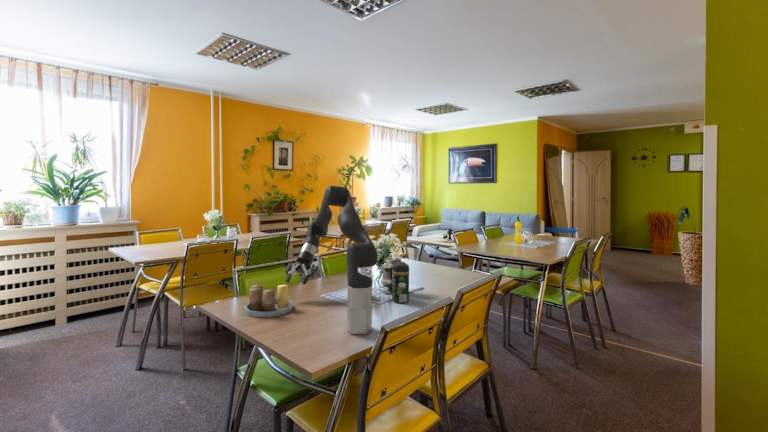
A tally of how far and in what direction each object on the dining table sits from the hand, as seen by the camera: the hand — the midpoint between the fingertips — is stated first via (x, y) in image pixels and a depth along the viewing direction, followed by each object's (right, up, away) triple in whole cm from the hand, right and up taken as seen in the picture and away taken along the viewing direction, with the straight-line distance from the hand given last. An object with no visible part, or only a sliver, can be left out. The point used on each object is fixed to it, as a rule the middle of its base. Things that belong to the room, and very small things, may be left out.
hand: (295, 282), depth 173 cm
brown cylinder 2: (-7, -10, -17) cm, 21 cm away
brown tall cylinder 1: (-15, -9, -10) cm, 20 cm away
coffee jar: (+50, -9, +4) cm, 51 cm away
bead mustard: (-3, -9, -9) cm, 14 cm away
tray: (-9, -10, -11) cm, 17 cm away
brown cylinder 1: (-14, -10, -15) cm, 23 cm away
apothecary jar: (+46, -8, +18) cm, 50 cm away
